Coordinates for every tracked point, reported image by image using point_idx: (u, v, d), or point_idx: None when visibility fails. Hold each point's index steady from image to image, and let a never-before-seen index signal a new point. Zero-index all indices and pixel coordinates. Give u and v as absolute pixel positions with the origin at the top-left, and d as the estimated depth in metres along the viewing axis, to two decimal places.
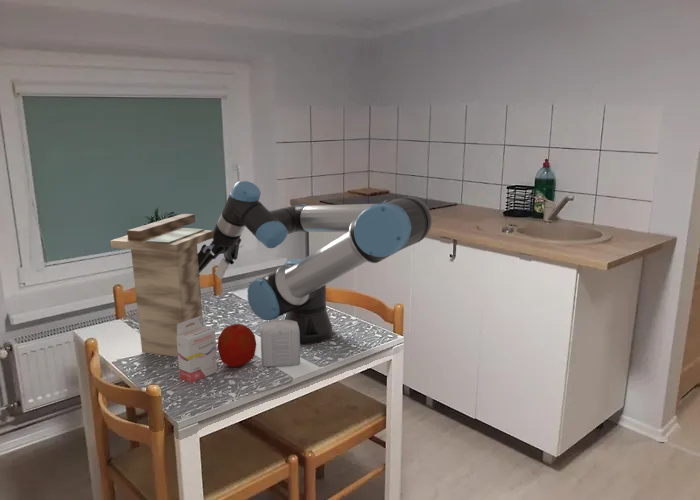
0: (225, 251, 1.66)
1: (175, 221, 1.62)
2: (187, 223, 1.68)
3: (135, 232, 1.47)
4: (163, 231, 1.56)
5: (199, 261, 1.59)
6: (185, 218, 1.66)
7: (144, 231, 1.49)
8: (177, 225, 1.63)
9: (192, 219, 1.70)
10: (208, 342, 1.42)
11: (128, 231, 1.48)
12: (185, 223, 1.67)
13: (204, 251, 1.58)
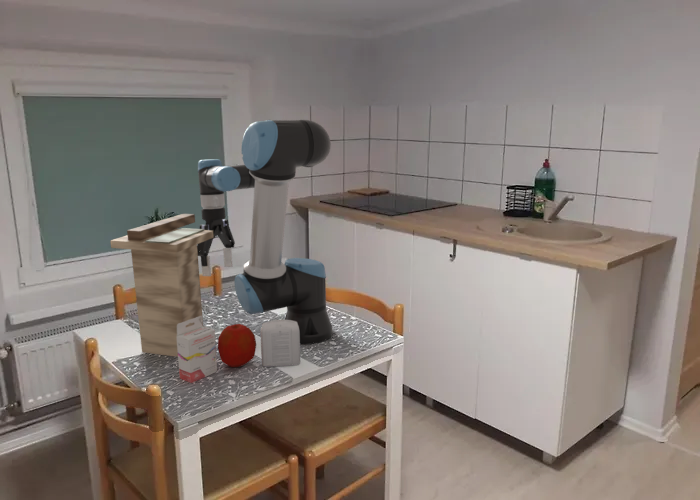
0: (221, 232, 1.86)
1: (175, 221, 1.62)
2: (187, 223, 1.68)
3: (135, 232, 1.47)
4: (163, 231, 1.56)
5: None
6: (185, 218, 1.66)
7: (144, 231, 1.49)
8: (177, 225, 1.63)
9: (192, 219, 1.70)
10: (208, 342, 1.42)
11: (128, 231, 1.48)
12: (185, 223, 1.67)
13: None
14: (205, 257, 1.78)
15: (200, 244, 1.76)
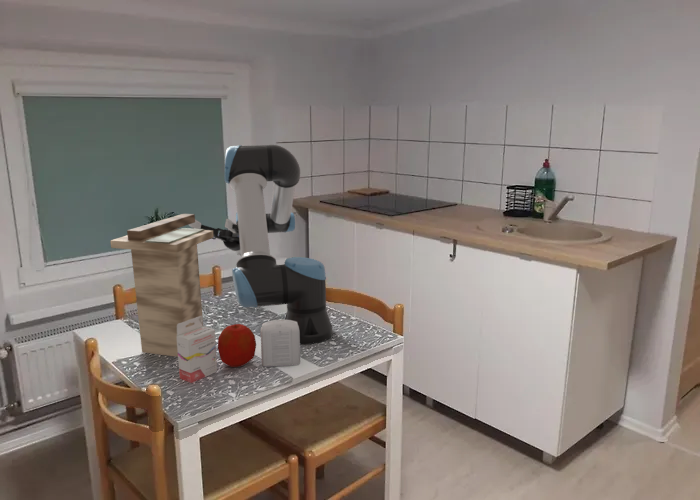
0: (231, 231, 1.94)
1: (175, 221, 1.62)
2: (187, 223, 1.68)
3: (135, 232, 1.47)
4: (163, 231, 1.56)
5: None
6: (185, 218, 1.66)
7: (144, 231, 1.49)
8: (177, 225, 1.63)
9: (192, 219, 1.70)
10: (208, 342, 1.42)
11: (128, 231, 1.48)
12: (185, 223, 1.67)
13: None
14: None
15: None
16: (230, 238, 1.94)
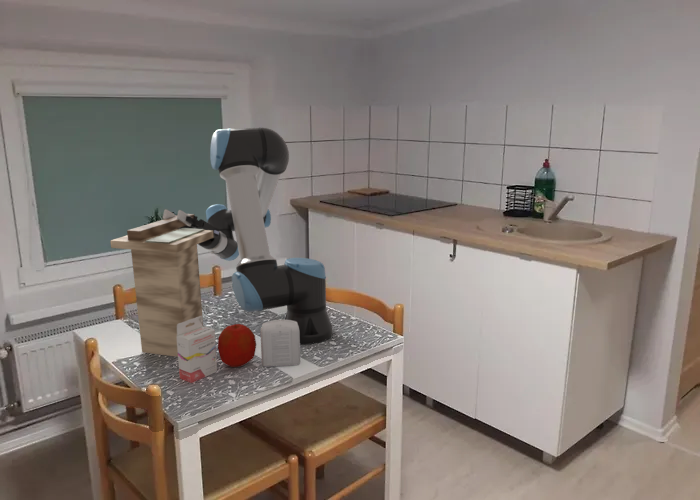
0: None
1: (175, 221, 1.62)
2: None
3: (135, 232, 1.47)
4: (163, 231, 1.56)
5: None
6: None
7: (144, 231, 1.49)
8: (177, 225, 1.63)
9: None
10: (208, 342, 1.42)
11: (128, 231, 1.48)
12: None
13: None
14: None
15: None
16: None
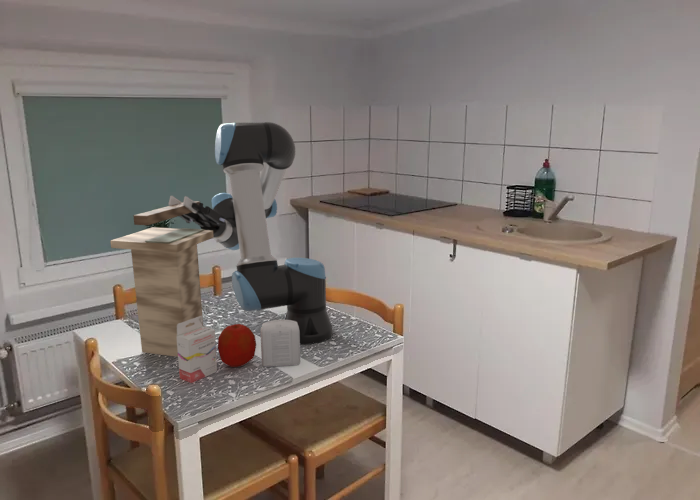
0: None
1: (181, 207, 1.60)
2: None
3: (141, 217, 1.46)
4: (169, 217, 1.55)
5: None
6: None
7: (150, 216, 1.47)
8: (183, 211, 1.61)
9: None
10: (208, 342, 1.42)
11: (134, 216, 1.46)
12: None
13: None
14: None
15: None
16: None
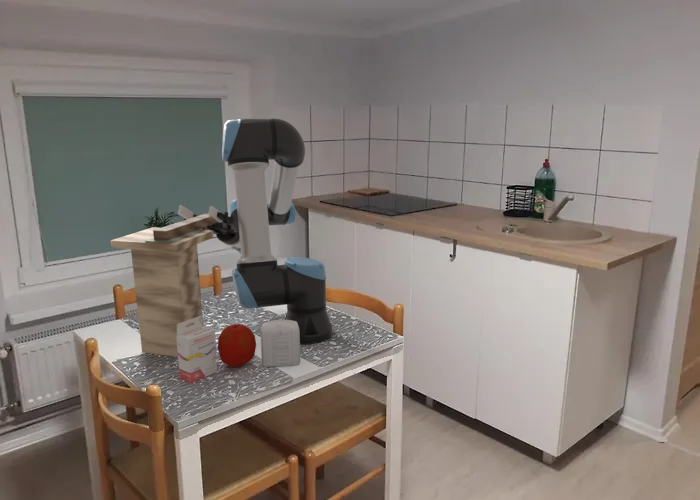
0: None
1: (199, 221, 1.59)
2: (211, 223, 1.65)
3: (161, 232, 1.45)
4: (188, 231, 1.54)
5: None
6: (209, 218, 1.64)
7: (170, 231, 1.46)
8: (201, 225, 1.60)
9: None
10: (208, 342, 1.42)
11: (154, 231, 1.46)
12: (209, 223, 1.64)
13: None
14: None
15: None
16: (222, 230, 1.74)
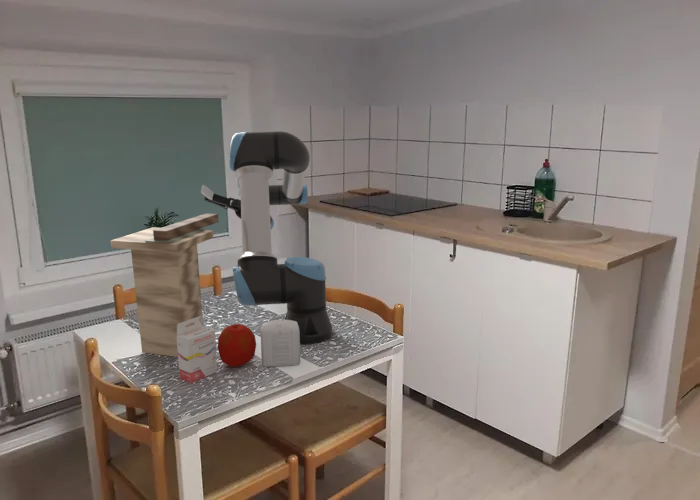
0: None
1: (199, 221, 1.59)
2: (211, 223, 1.65)
3: (161, 232, 1.45)
4: (188, 231, 1.54)
5: None
6: (209, 218, 1.64)
7: (170, 231, 1.46)
8: (201, 225, 1.60)
9: (216, 219, 1.68)
10: (208, 342, 1.42)
11: (154, 231, 1.46)
12: (209, 223, 1.64)
13: None
14: None
15: None
16: None
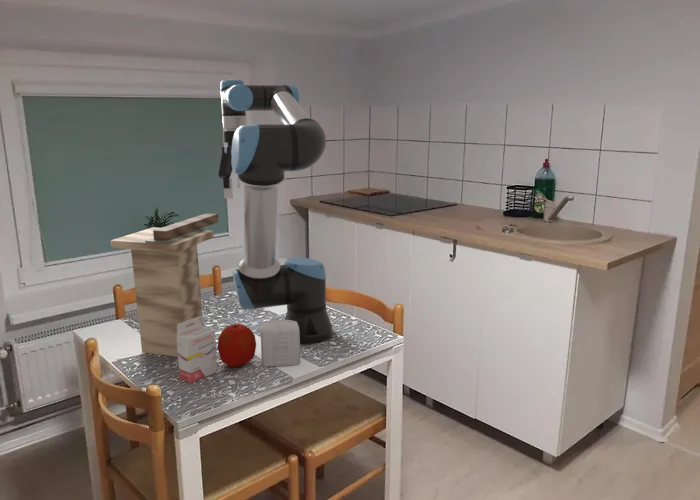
0: None
1: (199, 221, 1.59)
2: (211, 223, 1.65)
3: (161, 232, 1.45)
4: (188, 231, 1.54)
5: (226, 160, 1.76)
6: (209, 218, 1.64)
7: (170, 231, 1.46)
8: (201, 225, 1.60)
9: (216, 219, 1.68)
10: (208, 342, 1.42)
11: (154, 231, 1.46)
12: (209, 223, 1.64)
13: (226, 150, 1.76)
14: (227, 179, 1.77)
15: (223, 165, 1.75)
16: None
